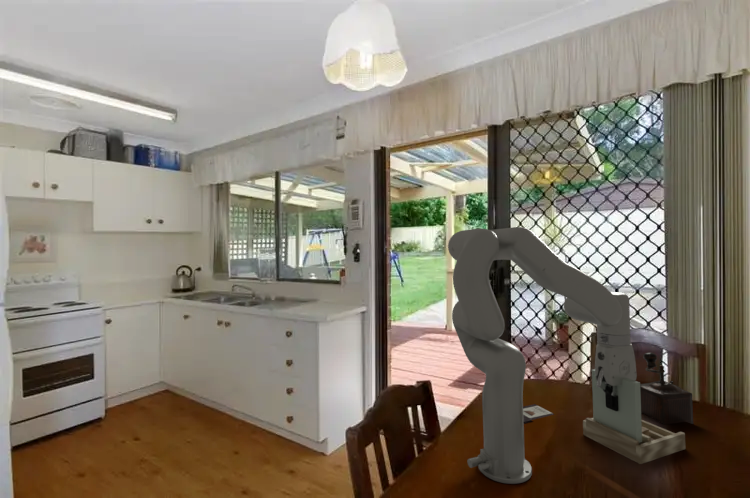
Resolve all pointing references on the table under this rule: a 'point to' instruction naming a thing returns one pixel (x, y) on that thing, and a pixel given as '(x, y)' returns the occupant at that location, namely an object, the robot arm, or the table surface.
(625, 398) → the sheet
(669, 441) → the rack
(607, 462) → the table surface
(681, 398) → the dark brown coffee grinder
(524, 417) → the chocolate bar
